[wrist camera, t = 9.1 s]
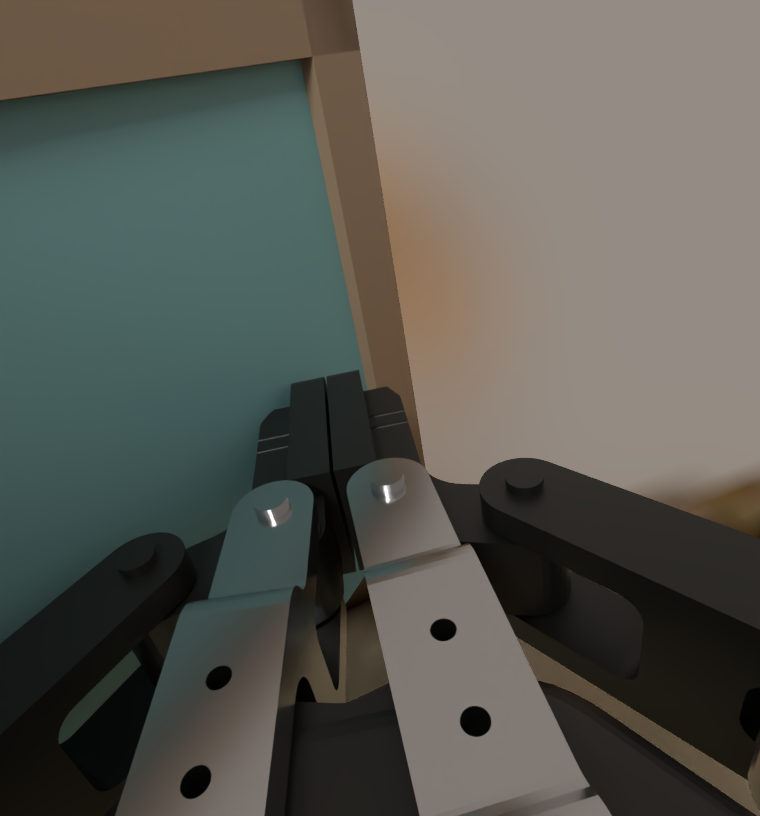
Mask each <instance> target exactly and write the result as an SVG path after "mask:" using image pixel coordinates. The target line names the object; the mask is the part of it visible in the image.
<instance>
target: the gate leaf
mask: <svg viewBox="0 0 760 816" xmlns="http://www.w3.org/2000/svg"><path fill="white" fill-rule="evenodd" d="M354 370H359V373H360V377H361V382H362V387H363V391H367V390H372V389H376V388H381V387H386V386H387V387H389V388H390V389H391V390H393V391H394V392H396V393H397V394H398V395H400V397H401V400H402V404H403V407H404V411H405V413H406V417H407V420H408V423H409V426H410V429H411V433H412V436H413V439H414V442H415V446H416V449H417V452H418V455H419V458H420V462H421V464H422V466H423V467H424V468H425V463H424V457H423V450H422V444H421V438H420V431H419V425H418V418H417V412H416V405H415V399H414V393H413V386H412V380H411V373H410V367H409V361H408V354H407V348H406V341H405V335H404V329H403V323H402V316H401V309H400V303H399V297H398V290H397V284H396V277H395V271H394V265H393V258H392V252H391V246H390V239H389V233H388V226H387V220H386V213H385V207H384V201H383V194H382V188H381V182H380V175H379V169H378V162H377V156H376V150H375V143H374V137H373V131H372V124H371V117H370V112H369V105H368V98H367V92H366V85H365V79H364V73H363V66H362V60H361V53H360V47H359V41H358V35H357V28H356V21H355V16H354V9H353V3H352V0H0V644H1V643H2V642H3V641H4V640H6V639H7V638H8V637H9V636H10V635H12V634H13V633H14V632H15V631H17V630H18V629H19V628H20V627H21V626H23V625H24V624H25V623H26V622H28V621H29V620H30V619H31V618H32V617H34V616H35V615H36V614H37V613H39V612H40V611H41V610H42V609H43V608H45V607H46V606H47V605H48V604H50V603H51V602H52V601H53V600H54V599H56V598H57V597H58V596H59V595H61V594H62V593H63V592H64V591H65V590H67V589H68V588H69V587H70V586H72V585H73V584H74V583H75V582H76V581H78V580H79V579H80V578H81V577H83V576H84V575H85V574H86V573H87V572H89V571H90V570H91V569H92V568H94V567H95V566H96V565H97V564H98V563H100V562H101V561H102V560H103V559H105V558H106V557H107V556H108V555H109V554H111V553H112V552H113V551H114V550H116V549H117V548H119V547H120V546H122V545H123V544H125V543H127V542H129V541H131V540H133V539H135V538H137V537H140V536H143V535H147V534H151V533H159V532H164V533H171V534H174V535H176V536H178V537H179V538H180V539H181V540H182V542H183V543H184V546H185V548H186V549H187V548H189V547H191V546H193V545H196V544H198V543H200V542H202V541H205V540H207V539H209V538H212V537H214V536H216V535H218V534H220V533H221V532H223V531H225V530H226V529H227V528H228V525H229V521H230V518H231V514H232V511H233V509H234V507H235V506H236V504H237V503H238V502H239V500H240V499H241V498H243V497H244V496H245V495H246V494H247V493H249V492H250V491H252V485H253V477H254V470H255V462H256V454H257V447H258V442H259V431H260V425H261V423H262V422H263V421H264V419H265V418H266V417H267V415H268V414H269V413H271V412H272V411H273V410H275V409H280V408H285V407H290V392H291V384H292V383H297V382H301V381H306V380H311V379H316V378H321V377H324V378H325V381H326V384H327V379H326V377H327V376H330V375H335V374H340V373H345V372H350V371H354ZM354 554H355V551H354ZM355 564H356V572H353V573H348V574H343V581H344V596H343V598H344V602H345V604H346V603H347V601H348V600H349V599H350V597H351V596H352V594H353V593H354V591H355V590H356V588H357V587H358V585H359V584H360V582H361V581H362V580H363V578H364V577H365V573H364V571H365V570H361V571H360V570H359V566H358V562H357V558H356V554H355ZM140 665H141V664H140V662H139V661H138V659H137V657H136V656H135V654H134V653H133V651H131V652H130V653H129V654H128V655H126V656H125V657H124V658H123V659H122V660H121V661H120V662H119V663H118V664H117V665H116V666H115V667H114V668H113V669H112V670H111V671H110V672H109V673H108V674H107V675H106V676H105V677H104V678H103V679H102V680H101V681H100V682H99V683H98V684H97V685H96V686H95V687H94V688H93V689H92V690H91V691H90V692H89V693H88V694H87V695H86V696H85V697H84V698H83V699H82V700H81V701H80V702H79V703H78V704H77V705H76V706H75V707H74V708H73V709H72V710H71V711H70V713H69V714H68V715H67V717H66V718H65V720H64V722H63V724H62V726H61V728H60V732H59V744H61V743H63V742H64V741H66V740H67V739H69V738H70V737H71V736H72V735H73V734H74V733H75V732H76V731H77V730H78V729H79V728H80V727H81V726H82V725H83V724H84V723H85V722H86V721H87V720H88V719H89V718H90V717H91V716H92V715H93V713H94V712H95V711H96V710H97V709H98V708H99V707H100V706H101V705H102V704H103V703H104V702H105V701H106V700H107V699H108V698H109V697H110V696H111V695H112V694H113V693H114V692H115V691H116V690H117V689H118V688H119V687H120V686H121V685H122V684H123V683H124V682H125V681H126V680H127V679H128V678H129V677H130V676H131V675H132V674H133V672H134V671H135V670H136V669H137V668H138V667H139V666H140Z"/></svg>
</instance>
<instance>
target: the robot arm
mask: <svg viewBox="0 0 760 816" xmlns="http://www.w3.org/2000/svg"><path fill="white" fill-rule="evenodd" d="M326 379H327V384H326V381H325V378H324V377H321V378H316V379H311V380H306V381H301V382H297V383H292V384H291V392H290V407H285V408H280V409H275V410H273V411H272V412H271V413H269V414H268V415H267V417H266V418H265V419H264V421H263V422H262V423H261V425H260V431H259V442H258V447H257V454H256V462H255V470H254V477H253V485H252V491H250V492H249V493H247V494H246V495H245V496H244V497H243V498H241V499H240V500H239V502H238V503H237V504H236V506H235V507H234V509H233V511H232V514H231V518H230V521H229V525H228V528H227V529H226V530H225V531H223V532H221V533H220V534H218V535H216V536H214V537H212V538H209V539H207V540H205V541H202V542H200V543H198V544H196V545H193V546H191V547H189V548H187V549H186V548H185V546H184V543H183V542H182V540H181V539H180V538H179V537H178V536H176V535H174V534H171V533H164V532H159V533H151V534H147V535H143V536H140V537H137V538H135V539H133V540H131V541H129V542H127V543H125V544H123V545H122V546H120V547H119V548H117V549H116V550H114V551H113V552H112V553H111V554H109V555H108V556H107V557H106V558H105V559H103V560H102V561H101V562H100V563H98V564H97V565H96V566H95V567H94V568H92V569H91V570H90V571H89V572H87V573H86V574H85V575H84V576H83V577H81V578H80V579H79V580H78V581H76V582H75V583H74V584H73V585H72V586H70V587H69V588H68V589H67V590H65V591H64V592H63V593H62V594H61V595H59V596H58V597H57V598H56V599H54V600H53V601H52V602H51V603H50V604H48V605H47V606H46V607H45V608H43V609H42V610H41V611H40V612H39V613H37V614H36V615H35V616H34V617H32V618H31V619H30V620H29V621H28V622H26V623H25V624H24V625H23V626H21V627H20V628H19V629H18V630H17V631H15V632H14V633H13V634H12V635H10V636H9V637H8V638H7V639H6V640H4V641H3V642H2V643H1V644H0V816H756V815H755V814H753V813H752V812H750V811H749V810H747V809H746V808H744V807H743V806H742V805H740V804H739V803H737V802H736V801H734V800H733V799H731V798H730V797H728V796H727V795H726V794H724V793H723V792H721V791H720V790H718V789H717V788H715V787H714V786H712V785H711V784H710V783H708V782H707V781H705V780H704V779H702V778H701V777H699V776H698V775H696V774H695V773H694V772H692V771H691V770H689V769H688V768H686V767H685V766H683V765H682V764H680V763H679V762H678V761H676V760H675V759H673V758H672V757H670V756H669V755H667V754H666V753H664V752H663V751H662V750H660V749H659V748H657V747H656V746H654V745H653V744H651V743H650V742H648V741H647V740H646V739H644V738H643V737H641V736H640V735H638V734H637V733H635V732H634V731H632V730H631V729H630V728H628V727H627V726H625V725H624V724H622V723H621V722H619V721H618V720H616V719H615V718H614V717H612V716H611V715H609V714H608V713H606V712H605V711H603V710H602V709H600V708H599V707H597V706H596V705H594V704H592V703H591V702H589V701H587V700H585V699H583V698H581V697H580V696H578V695H576V694H574V693H572V692H570V691H567V690H565V689H562V688H560V687H557V686H555V685H552V684H549V683H545V682H541V681H538V680H537V679H536V677H535V675H534V673H533V671H532V669H531V667H530V665H529V663H528V661H527V658H526V656H525V654H524V652H523V650H522V648H521V646H520V644H519V642H518V640H517V638H516V637H518V638H520V639H521V640H523V641H524V642H526V643H528V644H529V645H531V646H532V647H534V648H536V649H537V650H539V651H541V652H542V653H544V654H545V655H547V656H549V657H550V658H552V659H553V660H555V661H557V662H558V663H560V664H561V665H563V666H565V667H566V668H568V669H570V670H571V671H573V672H574V673H576V674H578V675H579V676H581V677H582V678H584V679H586V680H587V681H589V682H590V683H592V684H594V685H595V686H597V687H598V688H600V689H602V690H603V691H605V692H607V693H608V694H610V695H611V696H613V697H615V698H616V699H618V700H619V701H621V702H623V703H624V704H626V705H627V706H629V707H631V708H632V709H634V710H636V711H637V712H639V713H640V714H642V715H644V716H645V717H647V718H648V719H650V720H652V721H653V722H655V723H656V724H658V725H660V726H661V727H663V728H664V729H666V730H668V731H669V732H671V733H673V734H674V735H676V736H677V737H679V738H681V739H682V740H684V741H685V742H687V743H689V744H690V745H692V746H693V747H695V748H697V749H698V750H700V751H702V752H703V753H705V754H706V755H708V756H710V757H711V758H713V759H714V760H716V761H718V762H719V763H721V764H722V765H724V766H726V767H727V768H729V769H731V770H732V771H734V772H735V773H737V774H739V775H740V776H742V777H743V778H745V779H747V780H748V782H749V787H750V790H751V793H752V796H753V799H754V801H755V803H756V805H757V807H758V809H759V810H760V539H759V538H756V537H754V536H751V535H748V534H745V533H743V532H740V531H737V530H734V529H732V528H729V527H726V526H723V525H721V524H718V523H715V522H712V521H710V520H707V519H704V518H701V517H699V516H696V515H693V514H690V513H688V512H685V511H682V510H679V509H677V508H674V507H671V506H668V505H666V504H663V503H660V502H657V501H655V500H652V499H649V498H646V497H644V496H641V495H638V494H635V493H633V492H630V491H627V490H624V489H622V488H619V487H616V486H613V485H611V484H608V483H605V482H602V481H600V480H597V479H594V478H591V477H588V476H586V475H583V474H580V473H578V472H575V471H572V470H569V469H567V468H564V467H561V466H558V465H556V464H553V463H550V462H547V461H544V460H540V459H534V458H517V459H511V460H506V461H503V462H501V463H498V464H496V465H494V466H492V467H491V468H490V469H488V470H487V471H486V472H485V473H484V475H483V476H482V478H481V480H480V483H479V485H477V484H476V485H474V484H472V485H471V484H454V483H448V482H445V481H441V480H439V479H436V478H434V477H432V476H431V475H430V474H429V473H428V472H427V470H426V469H425V468H424V467H423V466H422V464H421V462H420V458H419V455H418V452H417V449H416V446H415V442H414V439H413V436H412V433H411V429H410V426H409V423H408V420H407V417H406V413H405V411H404V407H403V404H402V400H401V397H400V395H398V394H397V393H396V392H394V391H393V390H391V389H390V388H389V387H387V386H386V387H381V388H376V389H372V390H367V391H363V387H362V382H361V377H360V373H359V370H354V371H350V372H345V373H340V374H335V375H330V376H327V377H326ZM354 551H355V554H356V558H357V562H358V566H359V570H360V571H361V570H365V571H364V573H365V578H366V582H367V587H368V591H369V596H370V600H371V604H372V609H373V613H374V618H375V622H376V626H377V631H378V635H379V640H380V644H381V648H382V653H383V657H384V661H385V666H386V670H387V675H388V679H389V683H388V684H386V685H384V686H382V687H380V688H378V689H376V690H374V691H372V692H370V693H368V694H366V695H364V696H361V697H359V698H357V699H355V700H353V701H350V702H346V628H347V611H346V605H345V602H344V598H343V596H344V581H343V574H348V573H353V572H356V564H355V554H354ZM572 571H573V572H572ZM574 572H575V573H574ZM576 573H577V574H576ZM578 574H579V575H578ZM580 575H581V576H580ZM582 576H583V577H582ZM584 577H585V578H584ZM586 578H587V579H586ZM588 579H589V580H588ZM590 580H591V581H590ZM592 581H593V582H592ZM594 582H595V583H594ZM596 583H597V584H596ZM598 584H599V585H598ZM600 585H601V586H600ZM602 586H603V587H602ZM604 587H605V588H604ZM606 588H607V589H606ZM608 589H610V590H612V591H614V592H616V593H618V594H619V595H618V594H616V593H614V592H612V591H610V590H608ZM620 595H621V596H620ZM622 596H623V597H622ZM131 651H133V653H134V654H135V656H136V657H137V659H138V661H139V662H140V664H141V665H140V666H139V667H138V668H137V669H136V670H135V671H134V672H133V674H132V675H131V676H130V677H129V678H128V679H127V680H126V681H125V682H124V683H123V684H122V685H121V686H120V687H119V688H118V689H117V690H116V691H115V692H114V693H113V694H112V695H111V696H110V697H109V698H108V699H107V700H106V701H105V702H104V703H103V704H102V705H101V706H100V707H99V708H98V709H97V710H96V711H95V712H94V713H93V715H92V716H91V717H90V718H89V719H88V720H87V721H86V722H85V723H84V724H83V725H82V726H81V727H80V728H79V729H78V730H77V731H76V732H75V733H74V734H73V735H72V736H71V737H70V738H69V739H67V740H66V741H64V742H63V743H61V744H59V732H60V728H61V726H62V724H63V722H64V720H65V718H66V717H67V715H68V714H69V713H70V711H71V710H72V709H73V708H74V707H75V706H76V705H77V704H78V703H79V702H80V701H81V700H82V699H83V698H84V697H85V696H86V695H87V694H88V693H89V692H90V691H91V690H92V689H93V688H94V687H95V686H96V685H97V684H98V683H99V682H100V681H101V680H102V679H103V678H104V677H105V676H106V675H107V674H108V673H109V672H110V671H111V670H112V669H113V668H114V667H115V666H116V665H117V664H118V663H119V662H120V661H121V660H122V659H123V658H124V657H125V656H126V655H128V654H129V653H130V652H131Z"/></svg>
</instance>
